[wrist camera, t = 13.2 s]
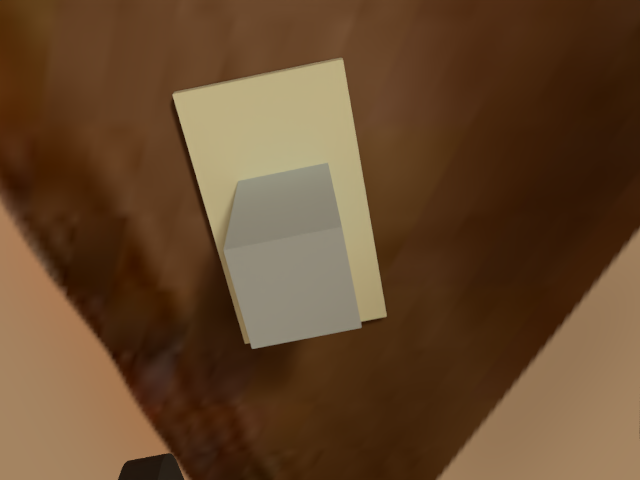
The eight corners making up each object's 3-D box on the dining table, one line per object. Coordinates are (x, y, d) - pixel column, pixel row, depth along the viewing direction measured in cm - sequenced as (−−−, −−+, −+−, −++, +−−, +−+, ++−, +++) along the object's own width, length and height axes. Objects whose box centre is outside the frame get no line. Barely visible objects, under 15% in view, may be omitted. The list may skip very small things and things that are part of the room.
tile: (341, 57, 29) (343, 59, 28) (385, 310, 34) (387, 316, 34) (174, 91, 29) (172, 94, 28) (245, 337, 35) (245, 344, 34)
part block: (328, 162, 30) (341, 226, 23) (344, 244, 32) (361, 327, 25) (238, 180, 30) (223, 250, 23) (259, 261, 32) (252, 349, 25)
